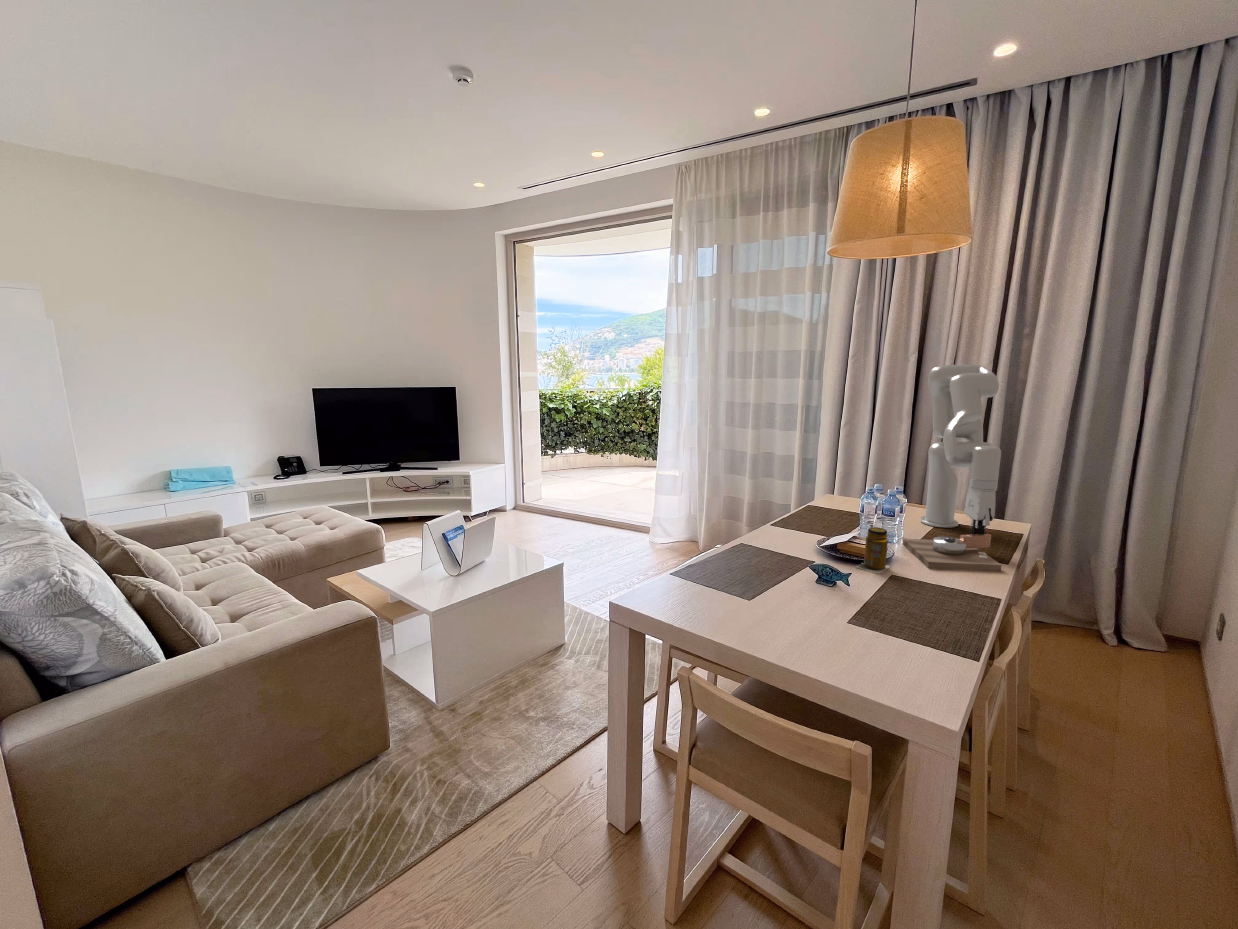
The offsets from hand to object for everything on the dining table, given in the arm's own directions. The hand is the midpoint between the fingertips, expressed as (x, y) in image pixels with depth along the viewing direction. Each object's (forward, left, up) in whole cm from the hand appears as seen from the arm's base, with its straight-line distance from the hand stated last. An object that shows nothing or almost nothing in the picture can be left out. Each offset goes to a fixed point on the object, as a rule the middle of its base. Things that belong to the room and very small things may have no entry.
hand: (977, 538), depth 174 cm
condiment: (+19, -37, -5) cm, 42 cm away
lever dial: (+5, -7, -2) cm, 9 cm away
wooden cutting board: (+7, -11, -4) cm, 14 cm away
